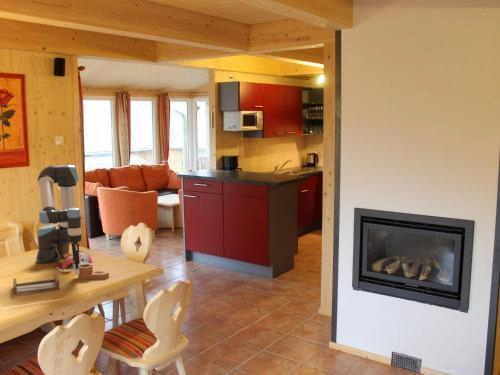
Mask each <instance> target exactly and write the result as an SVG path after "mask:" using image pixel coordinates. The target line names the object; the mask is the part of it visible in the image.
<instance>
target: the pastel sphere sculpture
mask: <svg viewBox="0 0 500 375" xmlns="http://www.w3.org/2000/svg"><path fill="white" fill-rule="evenodd" d="M91 256H92V254H90V253H86V255H85V252H84V251H82V249H79V262H80V263H79V265H81V264H92V265H93V263H94V261H93V259H92V257H91ZM62 257H63V258H60V261H58V262H57V263H56V264H55V265H54V268H55V269H57V270H58V271H59V272H61V273H70V272H71V273H72V272H74V268H73V253H70V252H69V253H65V254H64V255H63V256H62Z"/></svg>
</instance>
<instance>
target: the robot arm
mask: <svg viewBox="0 0 500 375" xmlns="http://www.w3.org/2000/svg"><path fill="white" fill-rule="evenodd" d="M77 170H78V169H77V167H76V165H72V164H61V165H60V164H59V165H48V166H47V167H44V168H43V169H42V170H41V171H40V172H39V175H38V176H37V185H38V186H39V191H40V201H41V203H40V204H41V211H39V212H38V214H39V215H38V216H39V217H38V218H39V224H42V225H43V224H44V226H41V227H39V228H38V229H37V235H36V236H37V246H38V247H37V248H38V250H37V255H36V257H35V262H36V263H39V264H51V263H56V262H60V261H61V256H60V254H59V252H58V249H57V244H65V243H71V244H70V245H71V251H72V252H71V253H72V254H73V268H74V271H73V273H74V275H78V274H80V271H79V263H80V262H79V250H80V244H79V242H82V240H83V239H82V238H83V235H82V233H83V232H82V216H81V215H82V214H81V209H80V208H79V207H76V206H75V187H76V186H77V183H79V182H80V180H79V175H78V171H77ZM55 184H57V187H58V188H59V189H60V190H59V191H60V209H58V210H57V209H56V201H55V194H54V185H55ZM53 223H56V224H58V225H59V227H58V226H56V224H53ZM59 223H60V224H59Z"/></svg>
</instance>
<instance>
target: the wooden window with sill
mask: <svg viewBox="0 0 500 375" xmlns="http://www.w3.org/2000/svg"><path fill="white" fill-rule="evenodd" d="M12 283H13V284H12V287H13V288H12V290H13V297H17V296H24V295H32V294H38V293H45V292H52V291H53V292H54V291H60V279H59V276H58V273H54V274H53V278H51V279H44V280H43V279H42V280H36V281H27V282H20V283H17V278H13V280H12Z"/></svg>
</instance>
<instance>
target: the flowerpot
mask: <svg viewBox="0 0 500 375" xmlns="http://www.w3.org/2000/svg"><path fill="white" fill-rule="evenodd" d="M56 224H57V223H52V225H56ZM59 224H60V223H58V226H57V227H59ZM71 244H72V243H65V244H57V249H58V252H59V254H60V257H64V256H63V255H64V254H65V253H69V254H70V245H71Z"/></svg>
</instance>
